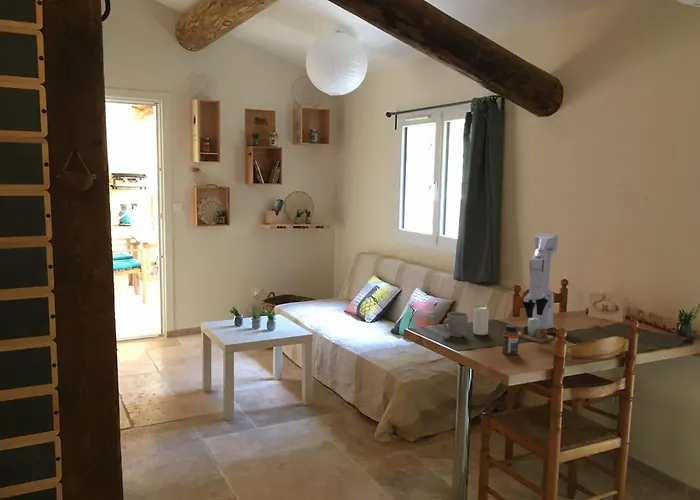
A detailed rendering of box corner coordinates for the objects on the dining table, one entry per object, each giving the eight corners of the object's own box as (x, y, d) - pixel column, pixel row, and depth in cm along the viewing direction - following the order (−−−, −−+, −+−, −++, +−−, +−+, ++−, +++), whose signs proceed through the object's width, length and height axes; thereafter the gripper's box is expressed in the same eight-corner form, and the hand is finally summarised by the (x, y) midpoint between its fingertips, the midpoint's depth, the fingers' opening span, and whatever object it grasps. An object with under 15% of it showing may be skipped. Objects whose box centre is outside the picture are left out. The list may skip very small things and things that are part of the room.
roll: (531, 332, 268) (532, 317, 268) (541, 335, 264) (542, 319, 264) (524, 334, 265) (525, 318, 265) (534, 336, 261) (535, 321, 261)
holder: (526, 332, 273) (526, 322, 273) (553, 339, 263) (554, 328, 262) (512, 335, 267) (513, 325, 267) (540, 342, 256) (541, 332, 256)
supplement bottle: (500, 351, 243) (501, 323, 241) (514, 351, 243) (516, 323, 242) (505, 355, 237) (506, 327, 235) (519, 355, 237) (521, 327, 236)
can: (487, 335, 266) (489, 309, 265) (472, 334, 268) (474, 308, 266) (487, 332, 273) (488, 306, 271) (472, 331, 274) (474, 305, 272)
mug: (457, 332, 272) (458, 311, 271) (471, 336, 264) (472, 315, 263) (436, 335, 266) (437, 313, 265) (449, 340, 258) (450, 317, 257)
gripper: (537, 282, 270) (536, 312, 271) (518, 285, 261) (516, 316, 262) (551, 284, 264) (550, 315, 266) (532, 288, 255) (530, 319, 257)
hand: (534, 316), depth 264 cm, fingers open, 7 cm apart
